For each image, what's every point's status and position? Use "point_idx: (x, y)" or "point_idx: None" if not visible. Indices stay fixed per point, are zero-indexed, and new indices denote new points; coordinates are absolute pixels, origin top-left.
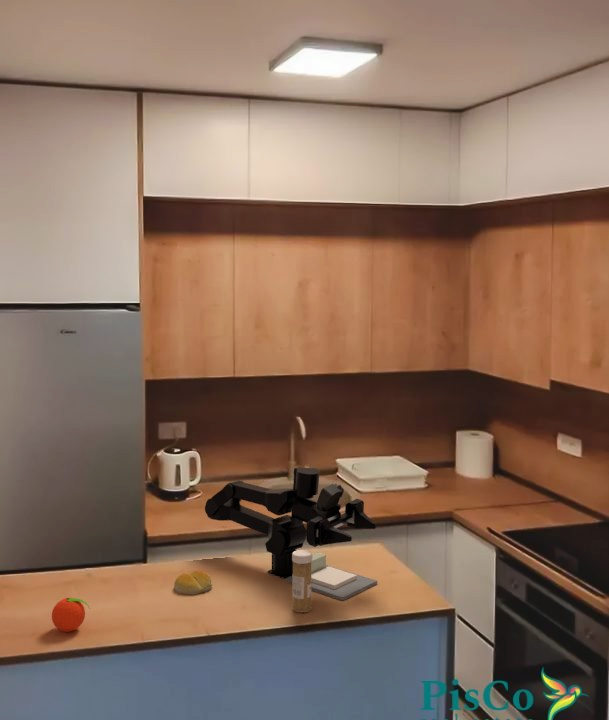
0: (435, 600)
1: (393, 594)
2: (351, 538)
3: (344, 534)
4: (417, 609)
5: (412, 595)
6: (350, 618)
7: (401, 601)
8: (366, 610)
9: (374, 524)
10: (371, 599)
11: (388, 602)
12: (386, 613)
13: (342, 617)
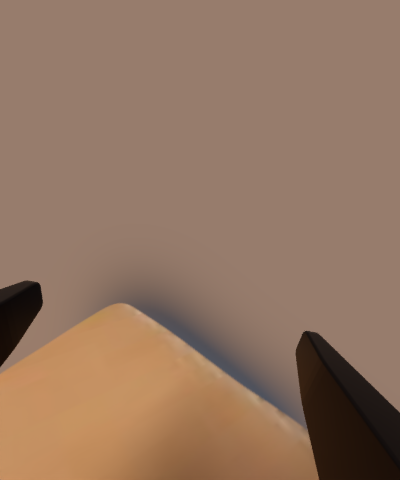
0: (92, 323)
1: (84, 421)
2: (304, 337)
3: (353, 368)
4: (155, 332)
5: (76, 372)
6: (308, 438)
7: (127, 377)
8: (233, 428)
9: (36, 283)
10: (151, 465)
11: (148, 403)
12: (213, 373)
13: None
